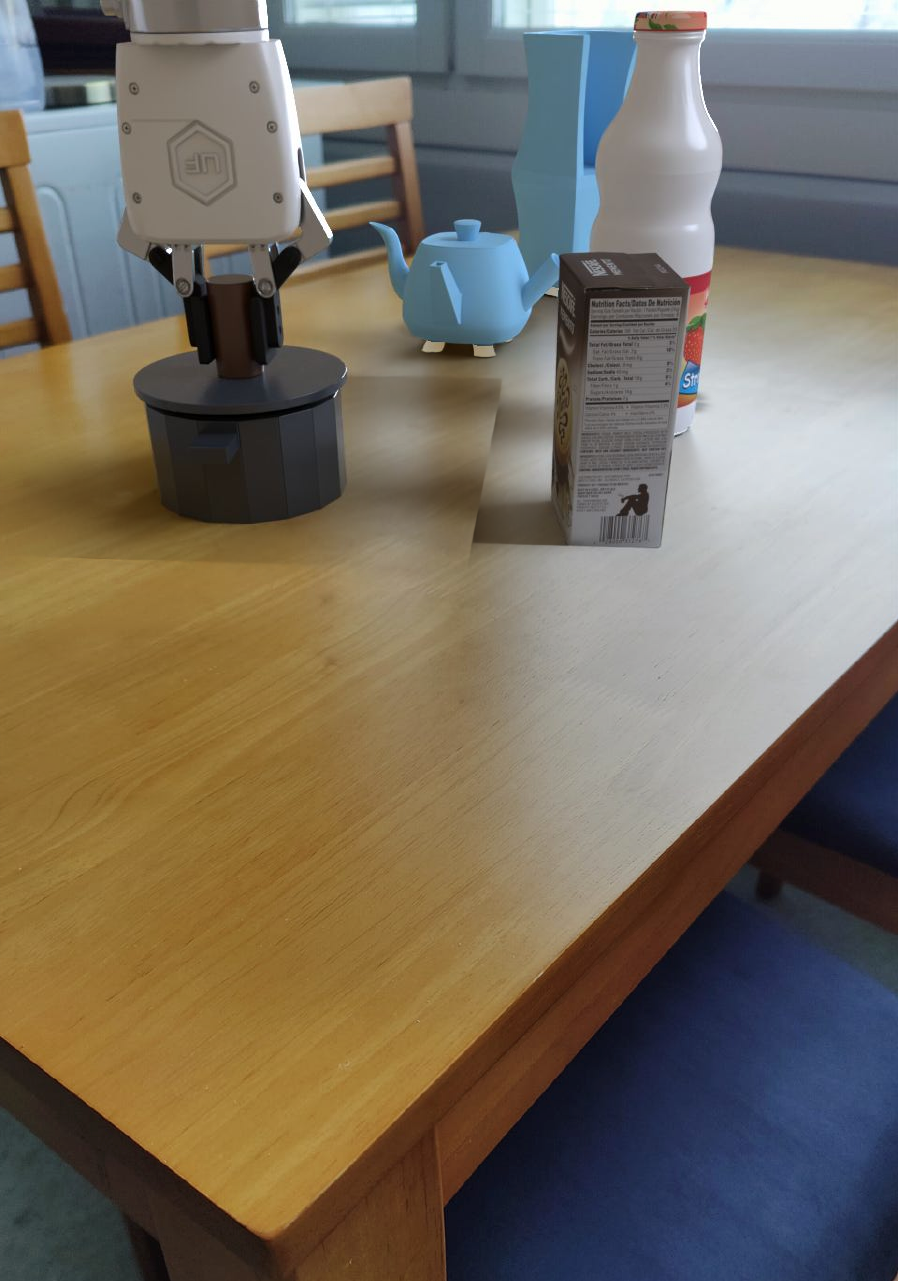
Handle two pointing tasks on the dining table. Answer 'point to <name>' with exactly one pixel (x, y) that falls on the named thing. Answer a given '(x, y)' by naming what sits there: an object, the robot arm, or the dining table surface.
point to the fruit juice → (664, 173)
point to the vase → (566, 136)
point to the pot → (249, 462)
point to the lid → (238, 365)
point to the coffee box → (616, 396)
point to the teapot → (466, 285)
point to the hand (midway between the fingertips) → (238, 356)
